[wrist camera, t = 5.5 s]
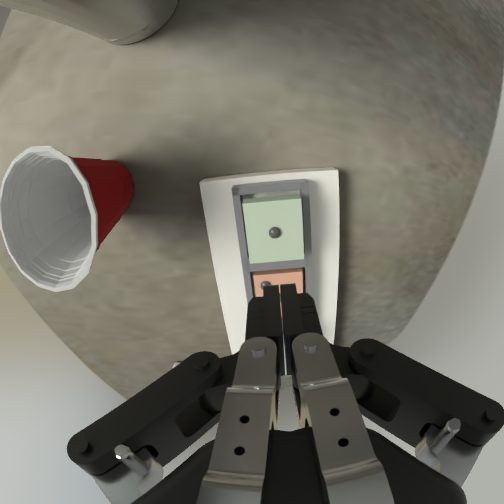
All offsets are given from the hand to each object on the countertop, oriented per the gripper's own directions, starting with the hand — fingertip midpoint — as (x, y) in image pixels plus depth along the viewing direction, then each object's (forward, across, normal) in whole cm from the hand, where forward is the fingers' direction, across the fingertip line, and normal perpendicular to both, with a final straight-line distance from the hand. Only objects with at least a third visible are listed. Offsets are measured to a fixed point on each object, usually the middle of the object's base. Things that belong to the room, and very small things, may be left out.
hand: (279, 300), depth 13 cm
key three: (+12, 0, +7) cm, 14 cm away
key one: (+11, 0, 0) cm, 11 cm away
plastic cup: (+15, +16, -5) cm, 22 cm away
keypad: (+14, 0, +7) cm, 16 cm away
